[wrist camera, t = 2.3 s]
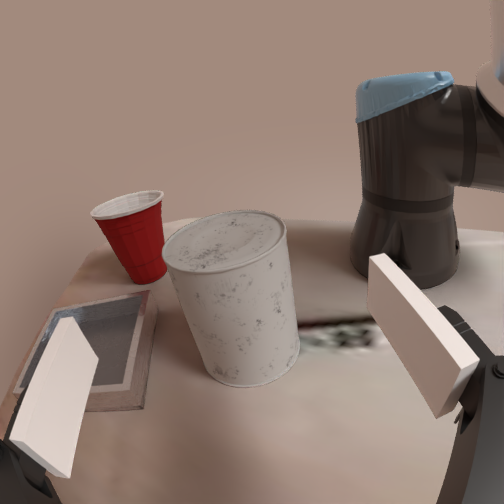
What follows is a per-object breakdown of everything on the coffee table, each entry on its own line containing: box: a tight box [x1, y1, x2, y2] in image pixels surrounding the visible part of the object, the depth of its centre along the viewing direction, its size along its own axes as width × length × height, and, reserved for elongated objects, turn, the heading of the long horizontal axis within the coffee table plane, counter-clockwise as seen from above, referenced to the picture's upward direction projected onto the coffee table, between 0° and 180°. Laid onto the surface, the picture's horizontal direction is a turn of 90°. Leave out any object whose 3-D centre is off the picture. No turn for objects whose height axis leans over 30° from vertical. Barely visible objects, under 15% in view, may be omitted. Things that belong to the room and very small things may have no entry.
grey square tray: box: [13, 290, 158, 412], centre depth 30 cm, size 15×15×3 cm
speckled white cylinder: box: [162, 210, 300, 388], centre depth 26 cm, size 10×10×12 cm
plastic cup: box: [90, 190, 167, 284], centre depth 43 cm, size 11×11×12 cm
